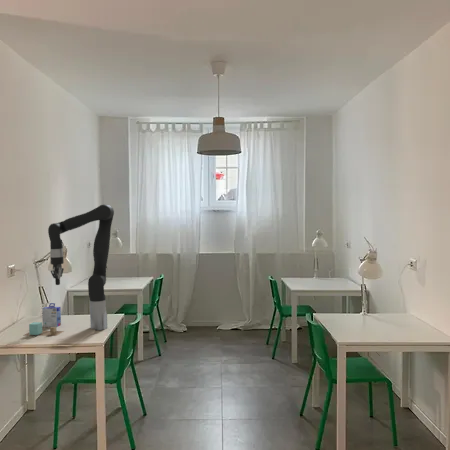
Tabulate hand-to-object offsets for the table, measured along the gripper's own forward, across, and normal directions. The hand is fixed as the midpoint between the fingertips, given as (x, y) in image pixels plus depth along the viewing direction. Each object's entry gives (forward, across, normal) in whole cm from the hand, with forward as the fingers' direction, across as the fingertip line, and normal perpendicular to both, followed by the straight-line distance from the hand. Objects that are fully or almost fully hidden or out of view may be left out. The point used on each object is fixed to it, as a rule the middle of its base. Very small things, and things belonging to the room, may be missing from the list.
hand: (57, 284), depth 310 cm
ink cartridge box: (+27, +5, +7) cm, 29 cm away
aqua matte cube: (+26, -17, +6) cm, 31 cm away
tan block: (+26, -16, -4) cm, 31 cm away
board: (+27, -14, +3) cm, 30 cm away
